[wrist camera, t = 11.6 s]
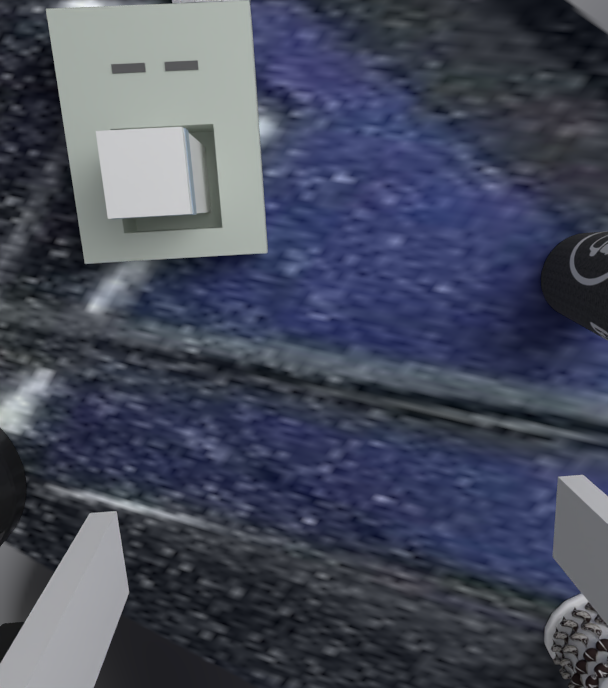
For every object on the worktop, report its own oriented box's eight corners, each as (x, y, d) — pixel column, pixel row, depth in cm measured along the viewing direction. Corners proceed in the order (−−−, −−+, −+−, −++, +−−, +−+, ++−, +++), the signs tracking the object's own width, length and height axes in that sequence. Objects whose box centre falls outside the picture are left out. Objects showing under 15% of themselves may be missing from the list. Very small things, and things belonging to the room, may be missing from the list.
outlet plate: (70, 29, 36) (45, 8, 32) (251, 22, 37) (249, -1, 33) (103, 258, 40) (84, 263, 36) (267, 248, 40) (267, 253, 36)
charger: (148, 216, 39) (107, 219, 29) (140, 149, 38) (94, 129, 28) (211, 212, 39) (191, 214, 29) (205, 146, 38) (182, 125, 28)
